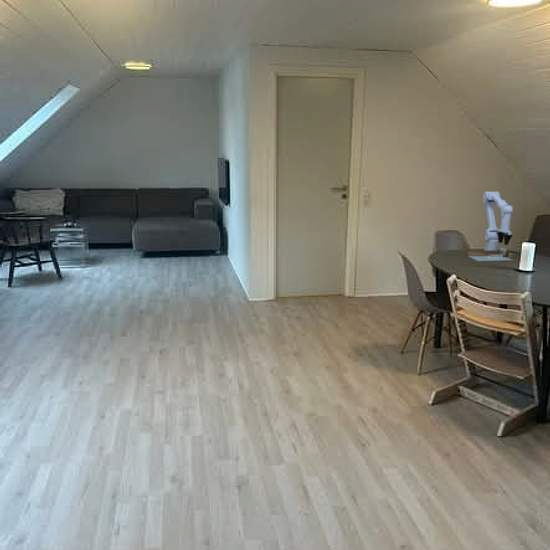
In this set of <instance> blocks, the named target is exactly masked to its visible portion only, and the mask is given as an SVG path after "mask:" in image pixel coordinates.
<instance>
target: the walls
mask: <svg viewBox="0 0 550 550" xmlns="http://www.w3.org/2000/svg"><path fill="white" fill-rule="evenodd" d="M488 254H500V249H498V250H485V251H484V250H467V257H468V256H488ZM506 257H507V258H509V259H512V260H511V261H516V258H517V255H516V254H515V253H512V252H509V251H507V250H506Z"/></svg>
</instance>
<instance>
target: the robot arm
mask: <svg viewBox="0 0 550 550" xmlns="http://www.w3.org/2000/svg"><path fill="white" fill-rule="evenodd" d="M482 201H483V205H485V210H486V219H487V226H488V228H487V229H485V233H484V234H485V235H484V239H485V242H484V248H483V249H484V250H483V251H485V250H499V249H498V248H499V243H500V244H504V246H508V245H509V243H510V240H511V238H512V237H513V234H512V231H511V230H510V228H511V219H512V214H514V207H513V205H509V204H508V203H507V202H506V200H505V199H502V198H501V194H500V192H499V191H484V192H483V194H482ZM495 205H496V206H497V207H498V209H499V210H500V217H501V218H500V219H501V220H500V228H498V227H497V223H496V216H495V215H496V214H495V207H494V206H495Z"/></svg>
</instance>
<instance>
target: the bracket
mask: <svg viewBox="0 0 550 550" xmlns="http://www.w3.org/2000/svg"><path fill="white" fill-rule="evenodd" d="M499 250H500V254H488V257H490V258H505V257H506V251H507V248H504V247H499Z"/></svg>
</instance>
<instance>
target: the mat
mask: <svg viewBox="0 0 550 550" xmlns="http://www.w3.org/2000/svg"><path fill="white" fill-rule="evenodd" d="M467 257H469V258H471V259H472V260H475V261H478V262H482V261H483V262H488V261H489V262H493V261H513V260H512V259H509V258H507V257H505V258H490V257H488V256H467Z"/></svg>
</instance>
